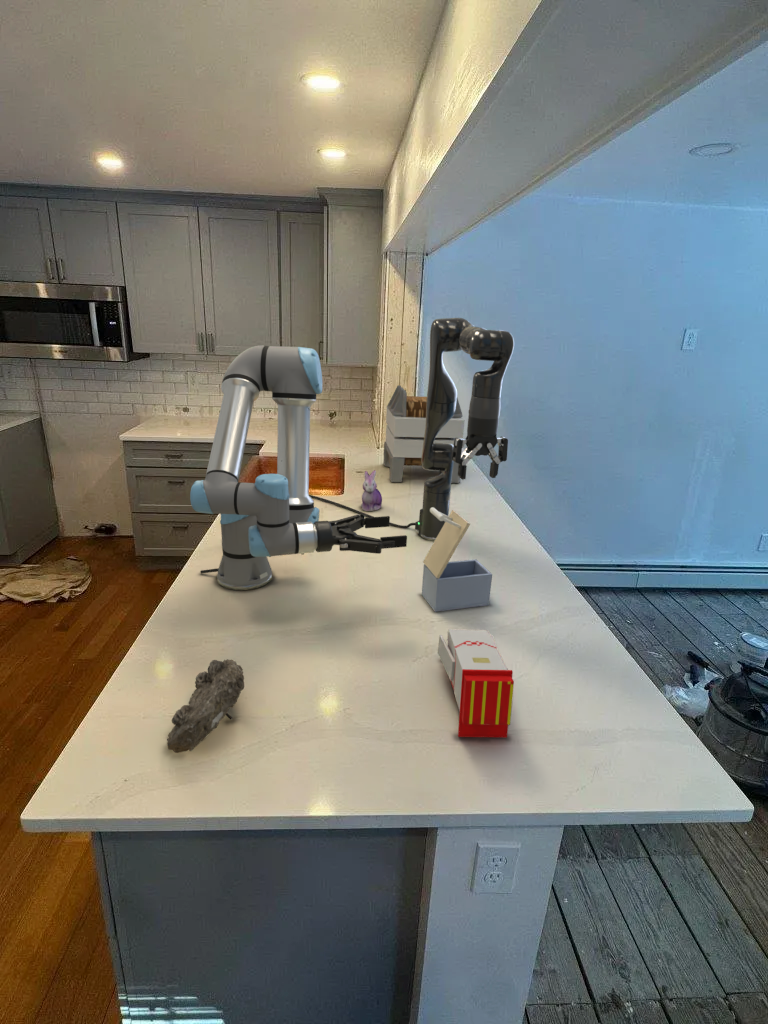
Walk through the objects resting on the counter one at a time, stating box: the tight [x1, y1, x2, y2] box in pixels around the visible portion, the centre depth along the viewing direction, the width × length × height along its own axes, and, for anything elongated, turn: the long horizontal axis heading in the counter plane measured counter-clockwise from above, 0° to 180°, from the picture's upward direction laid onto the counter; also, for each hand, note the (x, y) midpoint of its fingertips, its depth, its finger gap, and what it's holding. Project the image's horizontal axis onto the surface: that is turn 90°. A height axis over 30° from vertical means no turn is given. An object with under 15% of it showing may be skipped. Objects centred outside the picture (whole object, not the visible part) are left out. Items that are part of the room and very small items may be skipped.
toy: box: [437, 628, 515, 738], centre depth 117 cm, size 12×13×30 cm
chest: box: [421, 558, 493, 613], centre depth 154 cm, size 16×10×9 cm, turn 107°
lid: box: [422, 507, 471, 579], centre depth 148 cm, size 16×10×8 cm
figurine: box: [360, 469, 383, 512], centre depth 222 cm, size 9×10×15 cm
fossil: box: [166, 658, 245, 754], centre depth 106 cm, size 22×10×15 cm
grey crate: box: [383, 384, 465, 484], centre depth 268 cm, size 34×33×41 cm
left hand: (397, 530), depth 143 cm, fingers open, 13 cm apart
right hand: (477, 477), depth 145 cm, fingers open, 8 cm apart
